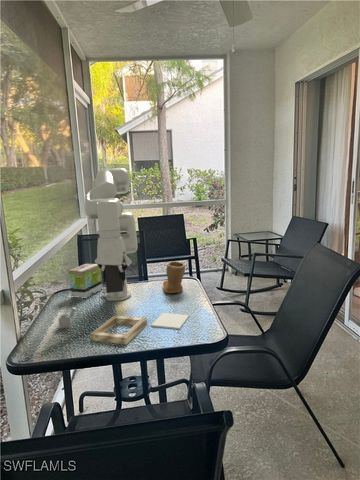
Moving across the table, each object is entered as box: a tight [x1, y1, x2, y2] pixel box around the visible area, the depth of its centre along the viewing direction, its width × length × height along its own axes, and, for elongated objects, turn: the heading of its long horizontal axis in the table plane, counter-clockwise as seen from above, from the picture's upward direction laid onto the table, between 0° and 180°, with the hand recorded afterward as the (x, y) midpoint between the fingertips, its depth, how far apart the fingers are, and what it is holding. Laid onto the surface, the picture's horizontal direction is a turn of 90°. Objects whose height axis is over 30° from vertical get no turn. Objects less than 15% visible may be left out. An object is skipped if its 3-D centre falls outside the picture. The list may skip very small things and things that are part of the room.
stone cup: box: [162, 261, 186, 294], centre depth 172 cm, size 15×12×15 cm
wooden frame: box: [89, 315, 148, 345], centre depth 128 cm, size 15×17×2 cm
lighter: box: [58, 306, 77, 329], centre depth 136 cm, size 7×2×8 cm, turn 100°
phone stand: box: [105, 265, 124, 294], centre depth 124 cm, size 9×6×12 cm, turn 6°
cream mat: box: [150, 312, 190, 330], centre depth 135 cm, size 12×12×1 cm
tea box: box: [68, 263, 103, 298], centre depth 175 cm, size 15×10×15 cm, turn 160°
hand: (114, 280), depth 125 cm, fingers closed on phone stand, 6 cm apart
